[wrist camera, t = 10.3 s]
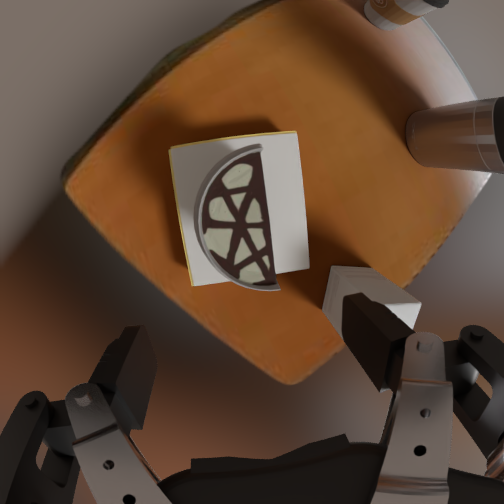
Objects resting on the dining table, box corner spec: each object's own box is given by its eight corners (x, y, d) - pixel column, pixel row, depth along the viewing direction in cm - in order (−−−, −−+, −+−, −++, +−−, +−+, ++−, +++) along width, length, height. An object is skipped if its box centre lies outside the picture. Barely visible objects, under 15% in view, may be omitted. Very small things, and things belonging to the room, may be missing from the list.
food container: (193, 160, 28) (178, 152, 18) (249, 151, 28) (262, 140, 19) (211, 267, 31) (206, 307, 22) (263, 259, 32) (281, 295, 22)
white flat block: (288, 135, 32) (296, 130, 28) (300, 258, 37) (309, 268, 33) (174, 150, 31) (167, 147, 27) (194, 274, 36) (191, 286, 32)
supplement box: (320, 310, 39) (354, 361, 27) (330, 263, 37) (374, 302, 25) (362, 311, 40) (403, 355, 28) (373, 267, 38) (423, 302, 26)
